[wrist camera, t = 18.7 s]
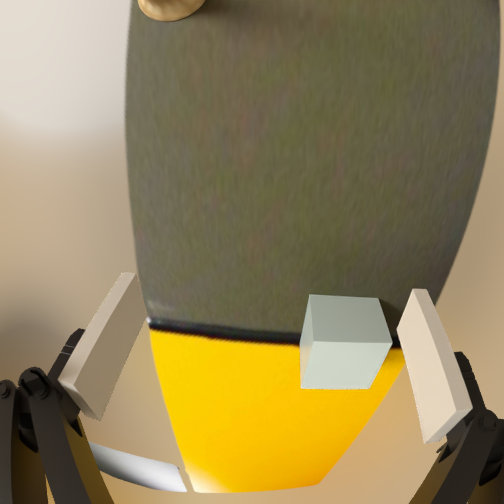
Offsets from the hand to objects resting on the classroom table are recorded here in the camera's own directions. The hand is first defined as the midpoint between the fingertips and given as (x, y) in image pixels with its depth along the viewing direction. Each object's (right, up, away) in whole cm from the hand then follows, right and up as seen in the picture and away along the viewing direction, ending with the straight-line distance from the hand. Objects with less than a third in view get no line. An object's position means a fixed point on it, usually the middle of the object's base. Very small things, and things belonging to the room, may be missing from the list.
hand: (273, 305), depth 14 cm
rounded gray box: (+12, -8, +31) cm, 34 cm away
